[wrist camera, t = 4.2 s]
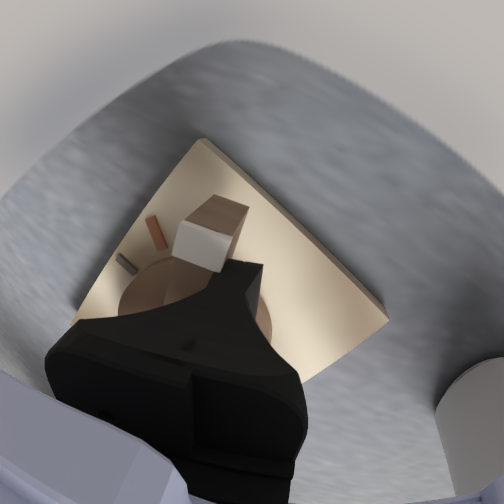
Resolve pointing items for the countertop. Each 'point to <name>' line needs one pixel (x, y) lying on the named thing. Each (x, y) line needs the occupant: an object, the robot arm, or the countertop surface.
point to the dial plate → (251, 250)
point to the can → (474, 426)
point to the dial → (193, 260)
